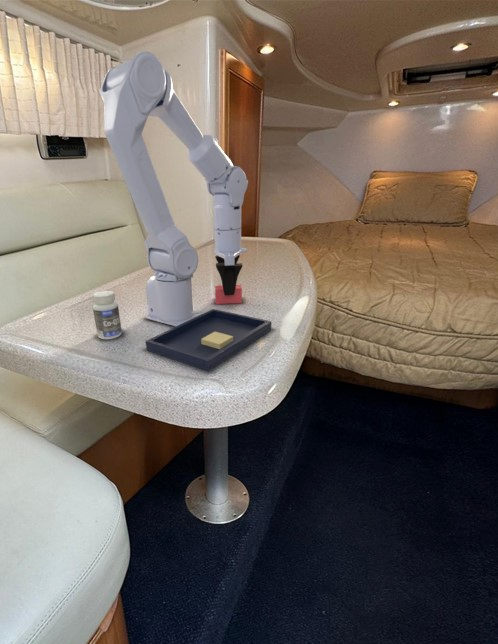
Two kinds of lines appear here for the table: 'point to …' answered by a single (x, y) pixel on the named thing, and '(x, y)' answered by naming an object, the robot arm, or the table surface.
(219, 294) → the eraser
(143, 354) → the table surface
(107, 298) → the pill bottle
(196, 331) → the tray
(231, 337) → the beige square tile
